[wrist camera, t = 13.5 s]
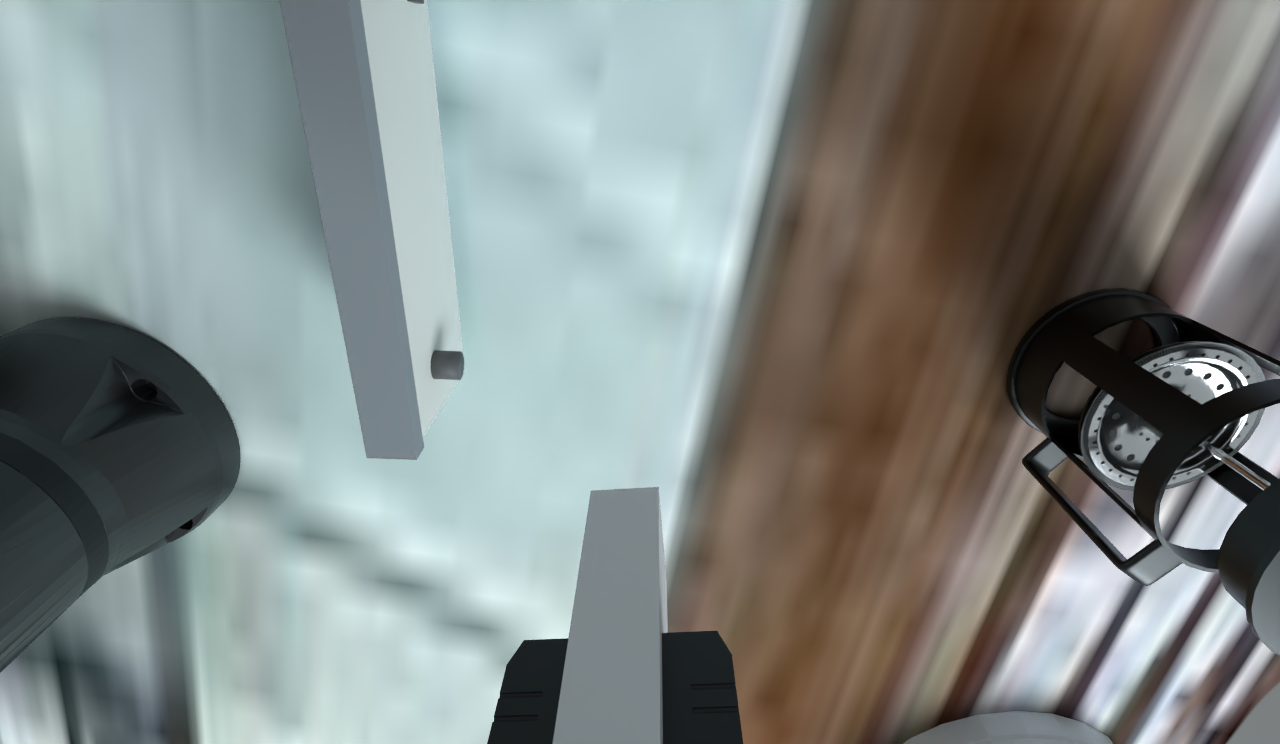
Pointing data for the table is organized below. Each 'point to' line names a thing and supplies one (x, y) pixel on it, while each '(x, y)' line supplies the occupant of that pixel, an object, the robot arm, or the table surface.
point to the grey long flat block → (382, 207)
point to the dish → (1012, 730)
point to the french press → (1159, 435)
